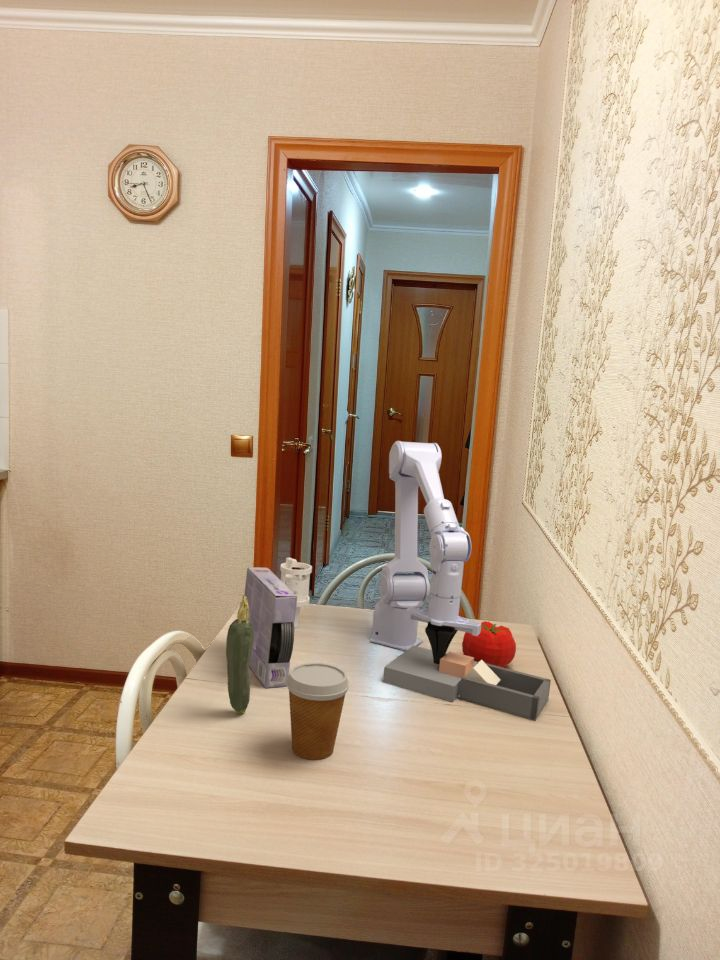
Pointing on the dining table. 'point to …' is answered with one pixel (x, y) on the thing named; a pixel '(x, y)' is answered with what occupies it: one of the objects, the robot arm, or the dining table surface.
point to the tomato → (490, 645)
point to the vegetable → (239, 658)
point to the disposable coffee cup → (315, 708)
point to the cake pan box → (270, 625)
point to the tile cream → (483, 674)
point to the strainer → (297, 583)
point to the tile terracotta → (456, 664)
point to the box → (508, 692)
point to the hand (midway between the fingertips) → (438, 662)
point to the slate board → (422, 674)
